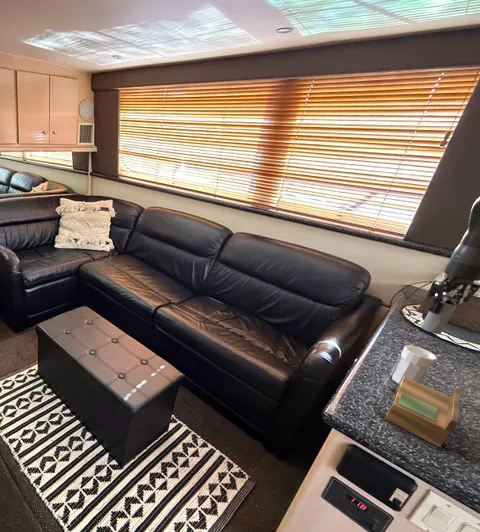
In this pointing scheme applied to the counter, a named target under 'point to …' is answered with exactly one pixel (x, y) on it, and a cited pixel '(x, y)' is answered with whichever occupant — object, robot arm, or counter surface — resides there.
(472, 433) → the counter surface
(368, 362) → the counter surface
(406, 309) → the counter surface
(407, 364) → the cup
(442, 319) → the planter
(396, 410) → the green-lined wooden tray
